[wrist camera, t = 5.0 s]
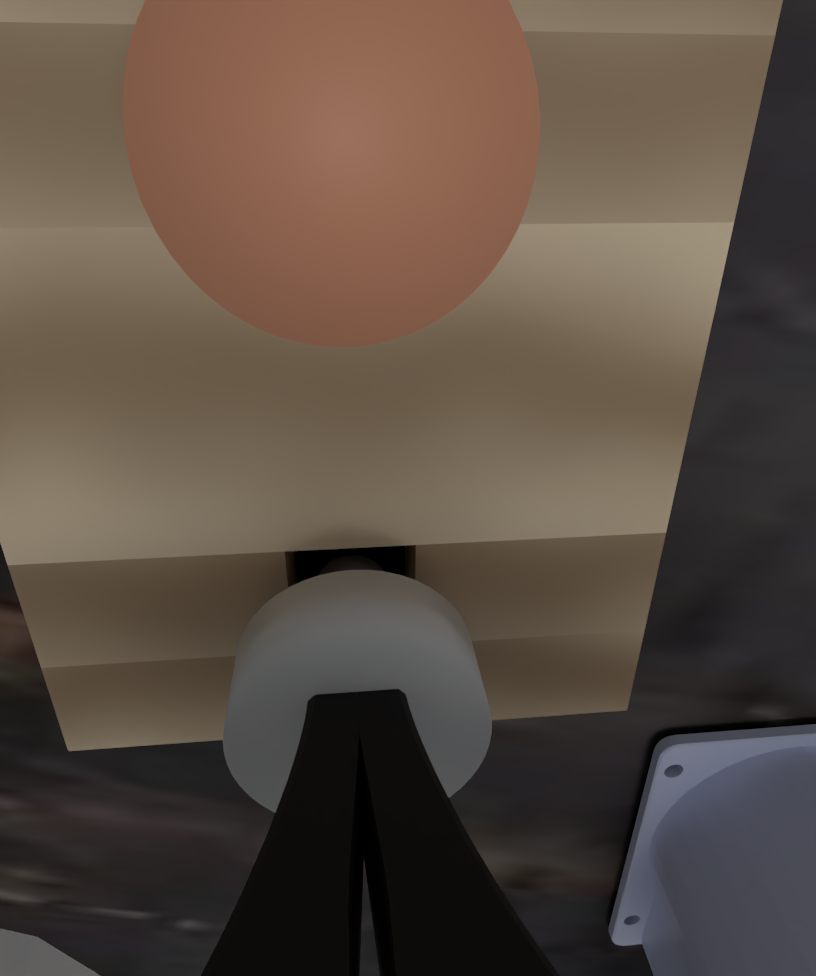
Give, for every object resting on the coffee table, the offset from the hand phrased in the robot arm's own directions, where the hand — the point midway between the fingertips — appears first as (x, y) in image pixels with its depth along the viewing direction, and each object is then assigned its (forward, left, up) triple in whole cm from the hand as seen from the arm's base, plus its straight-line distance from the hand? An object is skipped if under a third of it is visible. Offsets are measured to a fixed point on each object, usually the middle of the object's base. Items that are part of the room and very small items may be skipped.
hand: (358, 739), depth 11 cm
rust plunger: (+8, 0, -4) cm, 9 cm away
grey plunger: (0, 0, -4) cm, 4 cm away
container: (-19, +15, -6) cm, 25 cm away
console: (+4, 0, -5) cm, 7 cm away
